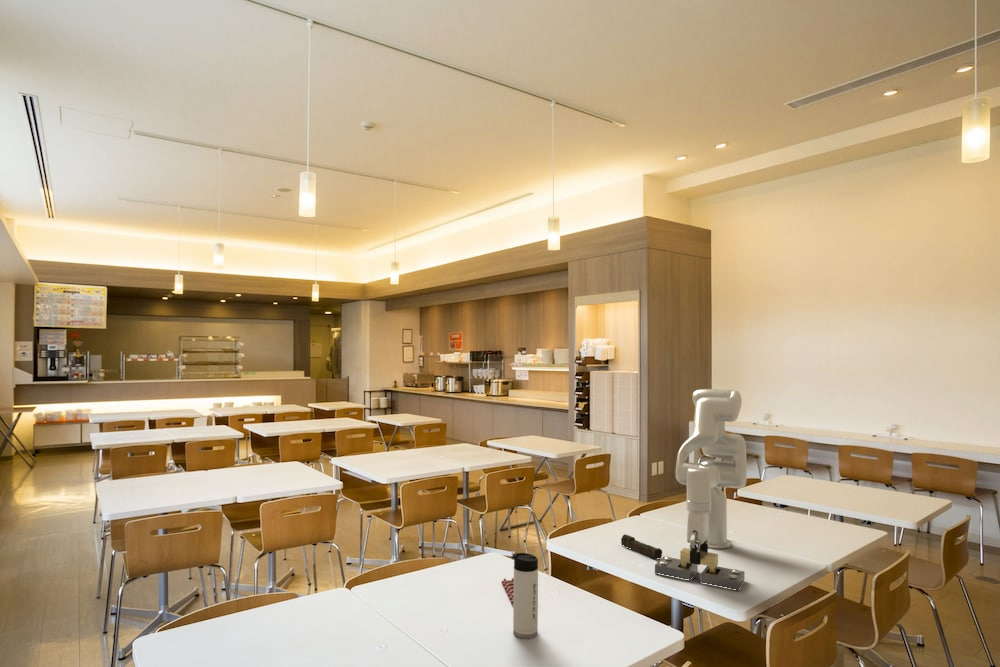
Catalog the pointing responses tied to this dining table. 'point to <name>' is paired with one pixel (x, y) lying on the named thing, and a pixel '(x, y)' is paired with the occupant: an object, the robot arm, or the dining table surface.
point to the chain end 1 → (675, 568)
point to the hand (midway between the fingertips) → (699, 559)
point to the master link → (706, 559)
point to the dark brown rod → (641, 547)
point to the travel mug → (525, 596)
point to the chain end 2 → (724, 577)
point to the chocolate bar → (509, 589)
